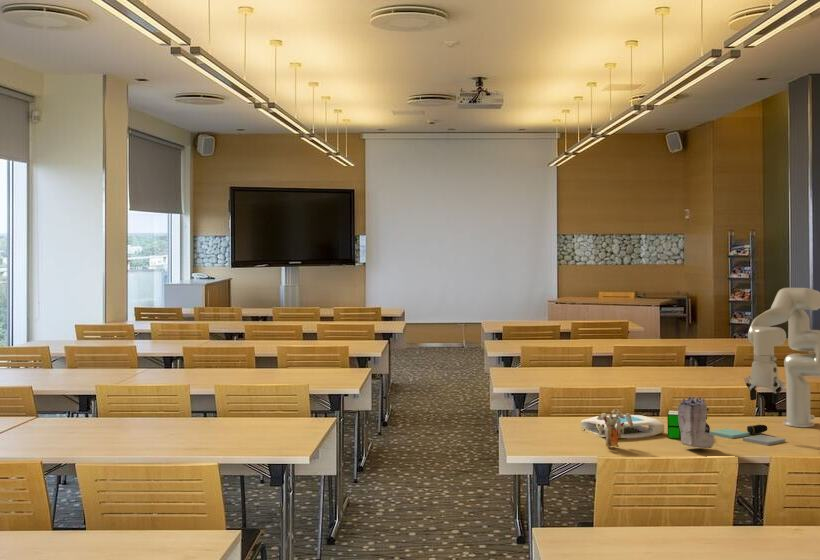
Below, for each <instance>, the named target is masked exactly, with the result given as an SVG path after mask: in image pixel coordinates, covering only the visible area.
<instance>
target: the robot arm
mask: <svg viewBox="0 0 820 560" xmlns="http://www.w3.org/2000/svg"><path fill="white" fill-rule="evenodd" d="M819 309H820V291H819V290H815V289H812V288H809V287H783V288H781V289H779V290H778V291H777V293H776V295H775V297H774V300H773V302H772V304H771V306H770V308H769V309H768V310H765V311H764V312H762V313H761V314H759V315H757V316H756V317H755V318H753V320H752V322H751V324H750V326H749V329H748V332H747V339H748V341H749V343H750V344H752V345H753V361H752V363H751V369H750V376H747V377H745V378H744V383H745V386H746V387H747V388H748V390H749V398H750V401H755V400H757V397H758V396H757V388H764V389H766V388H767V389H770V390H771V391H772V392H773V393H772V394H771V400H772V401H771V403H772V404H778V403H779V399H780V396H779V395H780V393H781V391H783V390H784V388H785V385H786V420H783V421H782V424H783V425H785V426H788V427H793V428H813V427H815V423H814V422H812V420H815V418H816V416H815V415H814V414H811V385H810V383H809V381H808V379H807V378H806V377H817V378H820V329H811V328H810V327H811V326H810V320H811V319H810V317H809V315H808V313H807V311H819ZM786 322H787V325H788V329H787V330H788V332H786V330H784V329H783V328H782V327H778V326H777V325H781V324H784V323H786ZM787 334H788V336H787ZM786 339H788V340H787V341H788V342H787V343H788V347H789V349H791V350H793V351H799V352H814V354H807V353H806V354H805V353H790V354H788V355H786V356H785V358H784V360H783V366H784V371H785V377H786V378H785V379H786V380H785V381H786V383H785V382H784V381H782V380H781V379H780V378H779V377H780V376H779V369H778V364H777V363H776V362H775V361H777V357H775V347H776V346H777V347H778V346H782V345H783V344H784V343H785V342H786Z"/></svg>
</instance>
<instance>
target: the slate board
mask: <svg viewBox="0 0 820 560" xmlns="http://www.w3.org/2000/svg"><path fill="white" fill-rule="evenodd" d="M742 442H747V443H752V444H759V445H765V446H773V445H777V444H782V443H786V438H783V437H782V438H781V437H776V436H771V435H764V434H756V435H752V436H751V435H750V436H744V437H742Z"/></svg>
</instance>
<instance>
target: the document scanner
mask: <svg viewBox="0 0 820 560" xmlns="http://www.w3.org/2000/svg"><path fill="white" fill-rule="evenodd" d="M612 415H613V417H616V415H617V414H612ZM623 415H624V416H625V419H622V418H620V417H618V418H620V419H621V423H623V422H624V424H625V427H630V428H629V429H631V428H634V429H633V430H635V429H637V430H636V431H638V430H639V432H635V433H624V434H621V438H627V439H638V437H639V438H646V437H647V438H648V437H654V436H657V435H659V434H660V435H661V434H662V433H664V432H665V424H664V423H663V422H661V421H660V420H659V419H657V418H653V417H649V416H645V415H641V414H630V415H631V419H632V423H633V426H630V424H628V422H627V420H626V414H623ZM598 416H599V415H597V416H592V417H590V418H585V419H582V420H581V422H580V423H581V424H580V425H581V426H580V428H581V429H582V428H583V429H585V430H589V431H590V432H593V433H594V434H597V435H599V434H598V428H597V427H598V424H600V425H602V424H604V429H606V424H605V420H598V419H597V418H598ZM607 417H608V418H610V417H609V414H607ZM645 426H648V427H645ZM615 428H616V429H617V423H616V425H615ZM583 429H582V430H583ZM604 429H603V430H604ZM599 436H601V437H605V435H599Z"/></svg>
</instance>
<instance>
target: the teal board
mask: <svg viewBox="0 0 820 560" xmlns="http://www.w3.org/2000/svg"><path fill="white" fill-rule="evenodd" d="M709 434H712V435H714V437H715V436H716V437H720V438H726V439H731V440H732V439H733V440H734V439H737V438H744V437H750V436H751V434H750V433H749V432H748V431H743V430H736V429H730V428H723V429H717V430H710V432H709Z"/></svg>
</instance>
